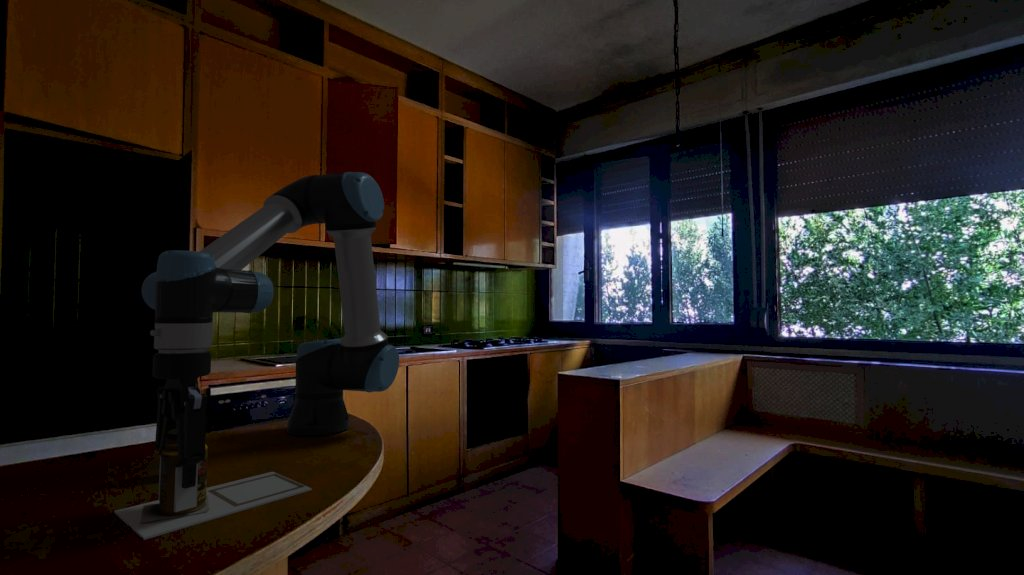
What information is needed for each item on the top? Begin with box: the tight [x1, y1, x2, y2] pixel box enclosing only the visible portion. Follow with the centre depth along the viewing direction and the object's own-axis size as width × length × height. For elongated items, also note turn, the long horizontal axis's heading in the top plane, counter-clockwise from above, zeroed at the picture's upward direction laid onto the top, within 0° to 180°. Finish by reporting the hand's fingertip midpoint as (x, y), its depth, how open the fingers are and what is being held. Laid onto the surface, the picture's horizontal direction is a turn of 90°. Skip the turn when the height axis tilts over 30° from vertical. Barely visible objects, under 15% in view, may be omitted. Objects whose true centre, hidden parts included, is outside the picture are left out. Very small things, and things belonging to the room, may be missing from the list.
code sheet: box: [114, 471, 313, 541], centre depth 80 cm, size 24×14×1 cm, turn 142°
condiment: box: [140, 429, 209, 523], centre depth 76 cm, size 7×8×12 cm
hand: (177, 502), depth 75 cm, fingers closed on condiment, 6 cm apart
